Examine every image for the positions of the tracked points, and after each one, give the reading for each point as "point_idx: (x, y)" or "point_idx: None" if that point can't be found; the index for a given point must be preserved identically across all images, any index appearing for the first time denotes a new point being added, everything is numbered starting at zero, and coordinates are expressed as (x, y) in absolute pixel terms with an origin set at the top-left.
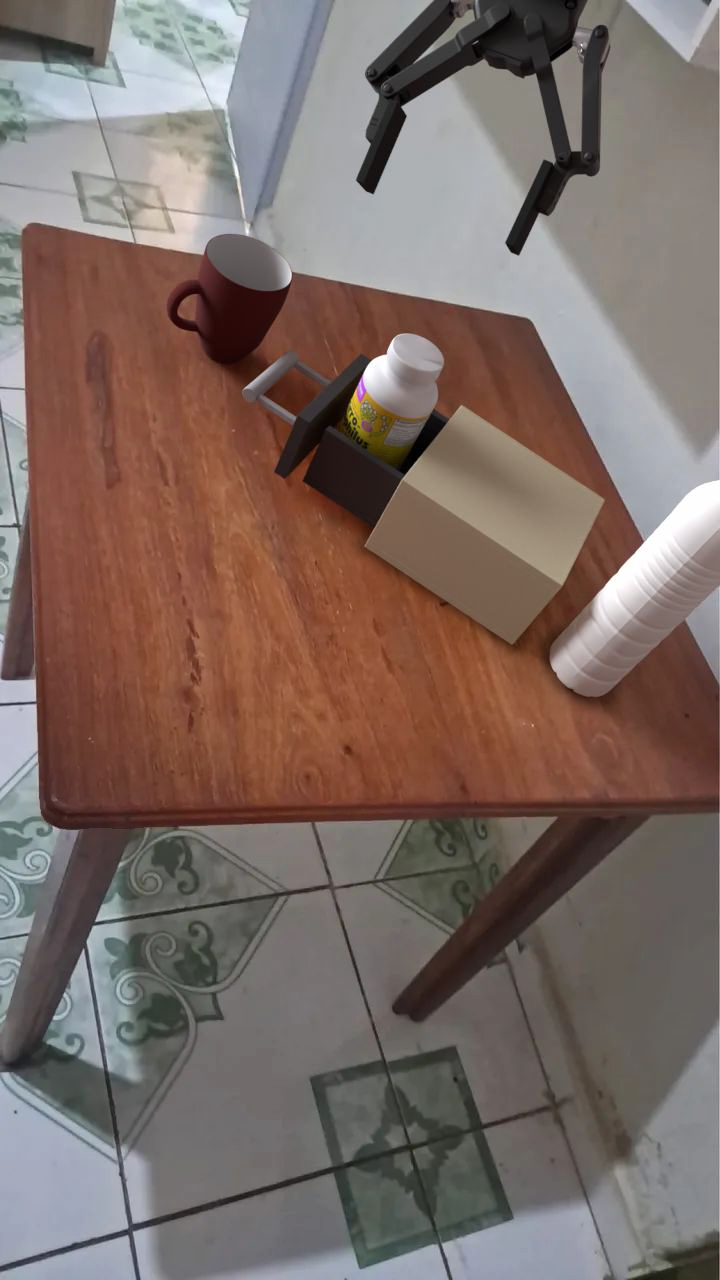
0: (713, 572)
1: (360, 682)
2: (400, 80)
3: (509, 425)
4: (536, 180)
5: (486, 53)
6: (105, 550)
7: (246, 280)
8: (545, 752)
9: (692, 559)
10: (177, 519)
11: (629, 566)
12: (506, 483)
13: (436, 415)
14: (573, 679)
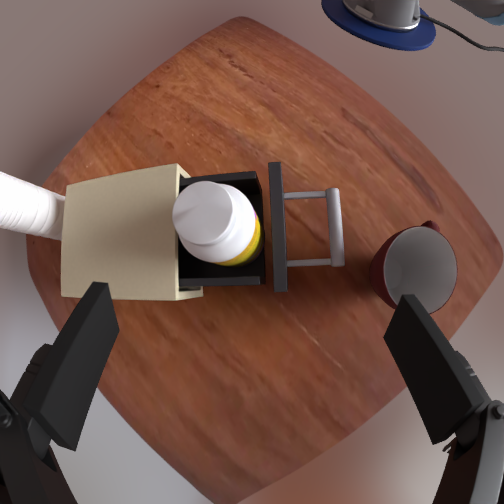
0: None
1: (164, 113)
2: (496, 437)
3: (178, 404)
4: (54, 372)
5: None
6: (311, 79)
7: None
8: (80, 159)
9: None
10: (301, 116)
11: (27, 193)
12: (113, 239)
13: (192, 279)
14: None
